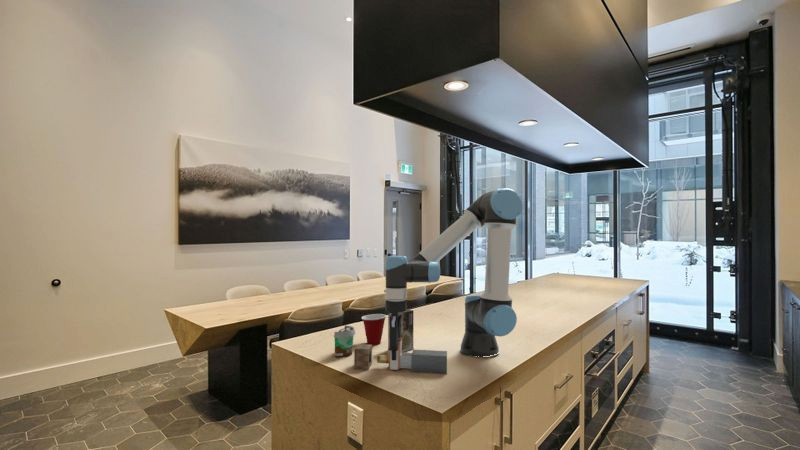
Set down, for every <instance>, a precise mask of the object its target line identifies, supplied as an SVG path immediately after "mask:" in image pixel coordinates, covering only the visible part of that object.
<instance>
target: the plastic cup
mask: <svg viewBox="0 0 800 450" xmlns="http://www.w3.org/2000/svg"><path fill="white" fill-rule="evenodd" d="M386 317H387V314H383V313H372V314H367V315H362V316H361V319H362V322H363V326H364V327H363V328H364V332H365V338H366V343H367V345H372V346H377V345H381V343H382V337H383V332H384V326H385V320H386Z"/></svg>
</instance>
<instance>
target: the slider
mask: <svg viewBox="0 0 800 450" xmlns="http://www.w3.org/2000/svg"><path fill="white" fill-rule="evenodd" d="M389 347H390V340H389ZM411 358H412V352H402V338H398V370H400V369H411ZM376 361H377V364H388V369H390V350H388V354H377V358H376Z"/></svg>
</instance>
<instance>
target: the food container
mask: <svg viewBox="0 0 800 450" xmlns="http://www.w3.org/2000/svg"><path fill="white" fill-rule="evenodd" d="M355 335H356V330H355V327H354V326H351V325H344V327H343V328H341V329H339V330H338V331H334V333H333V338H334V358H335V357H336V358H335V359H337V358H338V359H339V358H341V359H342V358H347V357H351V356H352V355H353V349H354V348H353V347H354V336H355Z"/></svg>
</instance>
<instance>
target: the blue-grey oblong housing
mask: <svg viewBox="0 0 800 450" xmlns="http://www.w3.org/2000/svg"><path fill="white" fill-rule="evenodd" d="M411 353H412V358H411V368H410V369H411V370H410V371H411V373H419V374H436V375H437V374H438V375H447V374H448V350H434V349H433V350H432V349H431V350H430V349H412V352H411Z"/></svg>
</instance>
